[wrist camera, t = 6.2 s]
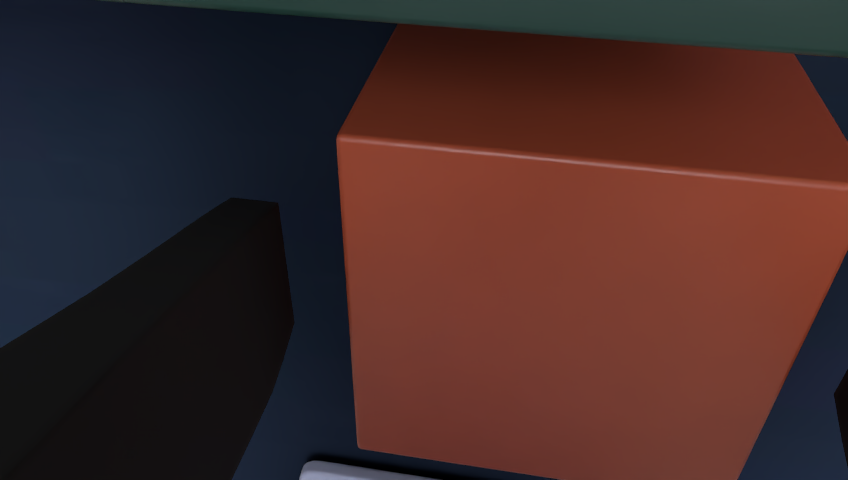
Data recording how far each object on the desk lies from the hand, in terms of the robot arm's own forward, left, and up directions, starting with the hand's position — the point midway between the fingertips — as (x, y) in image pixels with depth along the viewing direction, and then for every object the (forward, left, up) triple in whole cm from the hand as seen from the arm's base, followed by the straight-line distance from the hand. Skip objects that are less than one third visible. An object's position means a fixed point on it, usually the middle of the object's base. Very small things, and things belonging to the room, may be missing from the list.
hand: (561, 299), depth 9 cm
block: (0, 0, -4) cm, 4 cm away
